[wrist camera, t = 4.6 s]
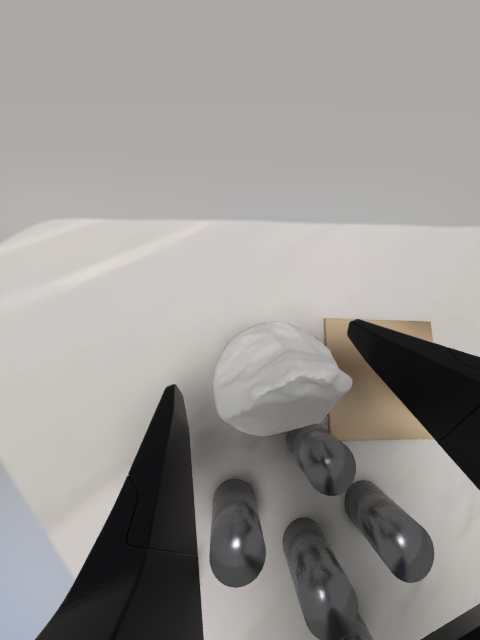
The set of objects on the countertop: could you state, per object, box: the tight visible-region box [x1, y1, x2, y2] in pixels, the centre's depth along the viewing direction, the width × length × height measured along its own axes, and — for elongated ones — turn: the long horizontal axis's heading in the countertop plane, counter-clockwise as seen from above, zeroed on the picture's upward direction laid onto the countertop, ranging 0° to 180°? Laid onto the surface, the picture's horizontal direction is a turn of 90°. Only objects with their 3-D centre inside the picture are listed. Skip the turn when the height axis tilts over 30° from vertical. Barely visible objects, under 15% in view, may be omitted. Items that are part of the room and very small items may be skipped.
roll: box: [213, 322, 353, 436], centre depth 11 cm, size 6×12×6 cm
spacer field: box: [210, 423, 434, 640], centre depth 14 cm, size 16×14×4 cm
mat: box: [324, 318, 434, 440], centre depth 18 cm, size 10×10×1 cm
